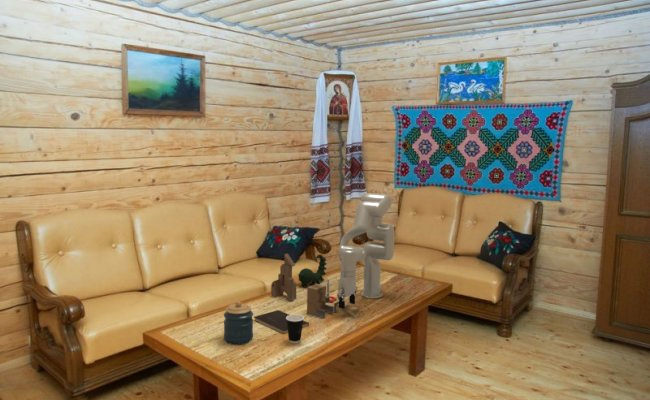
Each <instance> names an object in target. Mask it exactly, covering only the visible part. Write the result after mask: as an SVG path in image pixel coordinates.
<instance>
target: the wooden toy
mask: <svg viewBox="0 0 650 400" xmlns="http://www.w3.org/2000/svg"><path fill="white" fill-rule="evenodd" d="M294 266H296V264H295V262H294V261H293V260H292V258H291V256H290V254H289V253H284V262H283V263H282V264H281V265H280V268H279V272H280V273H278V275H277V276H278V278H277V279H276V280H272V282H271V288H270V289H271V294H270V296H271V297H274V298H276V297H281V296H282V295H284V293H285V294H286V296H287V301H288V302H293V301H294V300H295V299H297V282H296V281H295V279H294V278H293V267H294Z"/></svg>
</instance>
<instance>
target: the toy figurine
mask: <svg viewBox="0 0 650 400" xmlns="http://www.w3.org/2000/svg"><path fill="white" fill-rule="evenodd" d="M315 259H316V260H317V259H319V262H318V263H319V264H318V267H317V268H318V269H317V270H316V272H313V270H312V269H310V268H303V269H301V270H300V271H299V273H298V276H297V277H298V281H299V282H300V283H301V287H303V288H307V287H309V284H311V285H315V284H320V283H321V282H323V281H324V278H323V276H325V275H326V274H327V273H326V272H325V270H327V267H326V266H327V262H326V261H327V258H325V257H324V256H323V255H322V254H319V253H318V254H317V255H316V257H315ZM320 285H321V284H320Z"/></svg>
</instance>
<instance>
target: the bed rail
mask: <svg viewBox="0 0 650 400" xmlns="http://www.w3.org/2000/svg"><path fill="white" fill-rule="evenodd" d="M333 306H334V312H333V314H339V315H342V316H346V317H350V318H354V319H356V318H358V317H359V314H360V308H359V307H356V306H352V305H349V304H345V308H344V309H342V308H339V300H338V301H336V302H333Z"/></svg>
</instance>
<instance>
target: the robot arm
mask: <svg viewBox="0 0 650 400" xmlns="http://www.w3.org/2000/svg"><path fill="white" fill-rule="evenodd" d="M392 202H393V200H392V197H391V195H389V194H386V193H385V194H384V193H375V192H373V193H372V192H368V193H367V192H365V193H363V194H362V195H361V199H360V202H358V205H357V207H356V208H357V209H356V211H355V212H356V213H355V217H354V221H353V225H352V226H351V228H350V229H348V230H346V232H345V233H344V235H343V236H342V237H341V240H340V244H339V248H338V257H339V258H340V259H341V262H340V277H339V281H338V290H337V293H336V296H337V299H338V301H339V308H342V309H344V308H345V305H346V301H345V299H346V298H347V297H349V299H348V300H349V302H348V303H349V304H351V305H355V304H356V296H357V295H356V294H357V291H358V286H357V285H356V284H357V283H356V282H357V281H356V280H357V279H356V276H357V275H356V271H357V263H360V262H363V264H364V265H363V266H364V267H363V291H360V296H361V297H363V298H366V299H372V300H373V299H379V298H382V297H383V293H382V292H381V290H382V289H383V288H384V287H383V286H382V285H381V275H382V274H381V272H382V271H381V268H382V265H381V263H380V261H379V260H381V261H390V260H392V259H393V257H394V254H395V253H394V252H395V251H394V250H395V239H396V238H395V235H396V233H395V228H394V225H392V224H389V223H388V224H387V223H383V217H384V216H385V215H386V214H387V212H388V211H389V209H390V208H392V207H391V206H392ZM362 234H366V236H367V238H368V239H370V240H374V241H367V242H364V245H363V247H360V246H354V245H349V243H350V241H351V240H352V239H353V238H354V237H355V238H356V237H357V236H361V235H362ZM375 240H376V241H375ZM379 241H380V242H379ZM381 241H383V242H381Z"/></svg>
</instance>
